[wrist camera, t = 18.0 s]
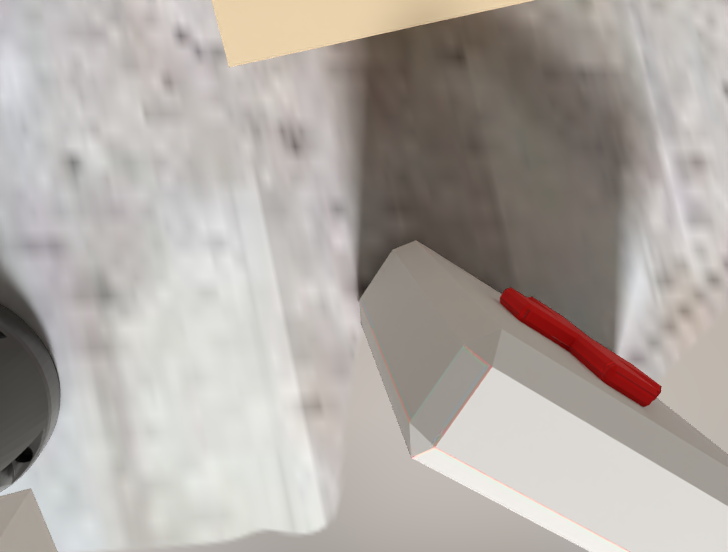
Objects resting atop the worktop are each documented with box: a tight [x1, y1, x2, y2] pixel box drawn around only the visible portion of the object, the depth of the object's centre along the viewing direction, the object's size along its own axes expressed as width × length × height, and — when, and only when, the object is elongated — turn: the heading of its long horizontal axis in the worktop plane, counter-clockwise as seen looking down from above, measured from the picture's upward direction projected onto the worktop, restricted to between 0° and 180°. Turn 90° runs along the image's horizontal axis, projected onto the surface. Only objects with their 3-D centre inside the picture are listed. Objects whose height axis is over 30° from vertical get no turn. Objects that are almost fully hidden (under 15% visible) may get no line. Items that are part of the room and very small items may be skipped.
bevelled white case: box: [359, 240, 728, 552], centre depth 39 cm, size 21×8×20 cm, turn 57°
